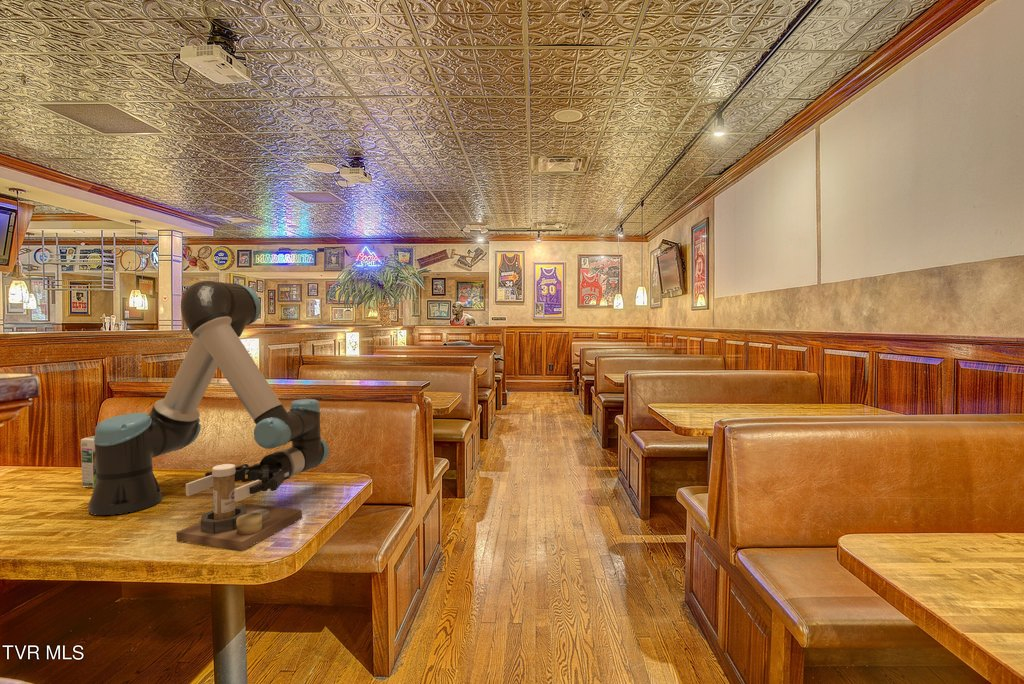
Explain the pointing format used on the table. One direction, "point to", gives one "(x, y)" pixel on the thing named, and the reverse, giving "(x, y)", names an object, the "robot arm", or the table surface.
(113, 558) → the table surface
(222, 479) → the sprinkles bottle
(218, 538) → the carrier board
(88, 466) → the syrup box
